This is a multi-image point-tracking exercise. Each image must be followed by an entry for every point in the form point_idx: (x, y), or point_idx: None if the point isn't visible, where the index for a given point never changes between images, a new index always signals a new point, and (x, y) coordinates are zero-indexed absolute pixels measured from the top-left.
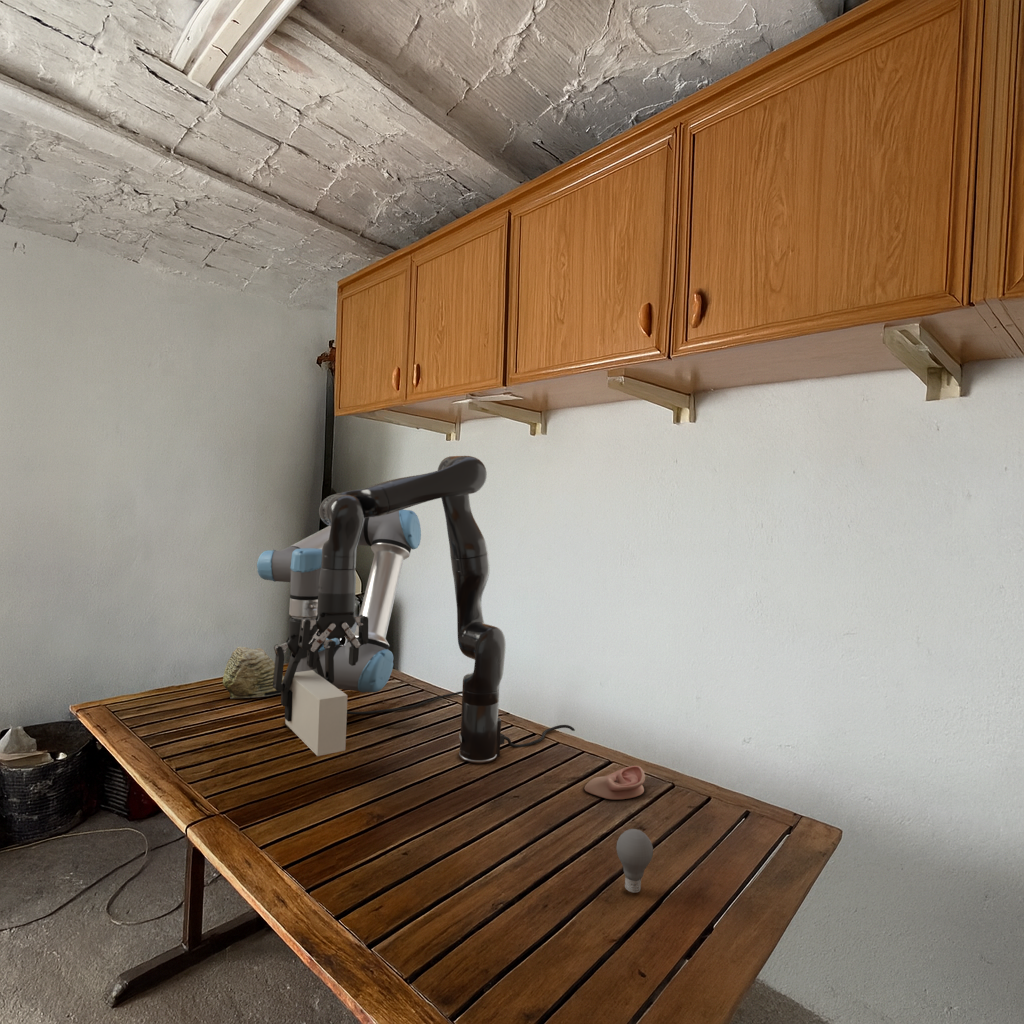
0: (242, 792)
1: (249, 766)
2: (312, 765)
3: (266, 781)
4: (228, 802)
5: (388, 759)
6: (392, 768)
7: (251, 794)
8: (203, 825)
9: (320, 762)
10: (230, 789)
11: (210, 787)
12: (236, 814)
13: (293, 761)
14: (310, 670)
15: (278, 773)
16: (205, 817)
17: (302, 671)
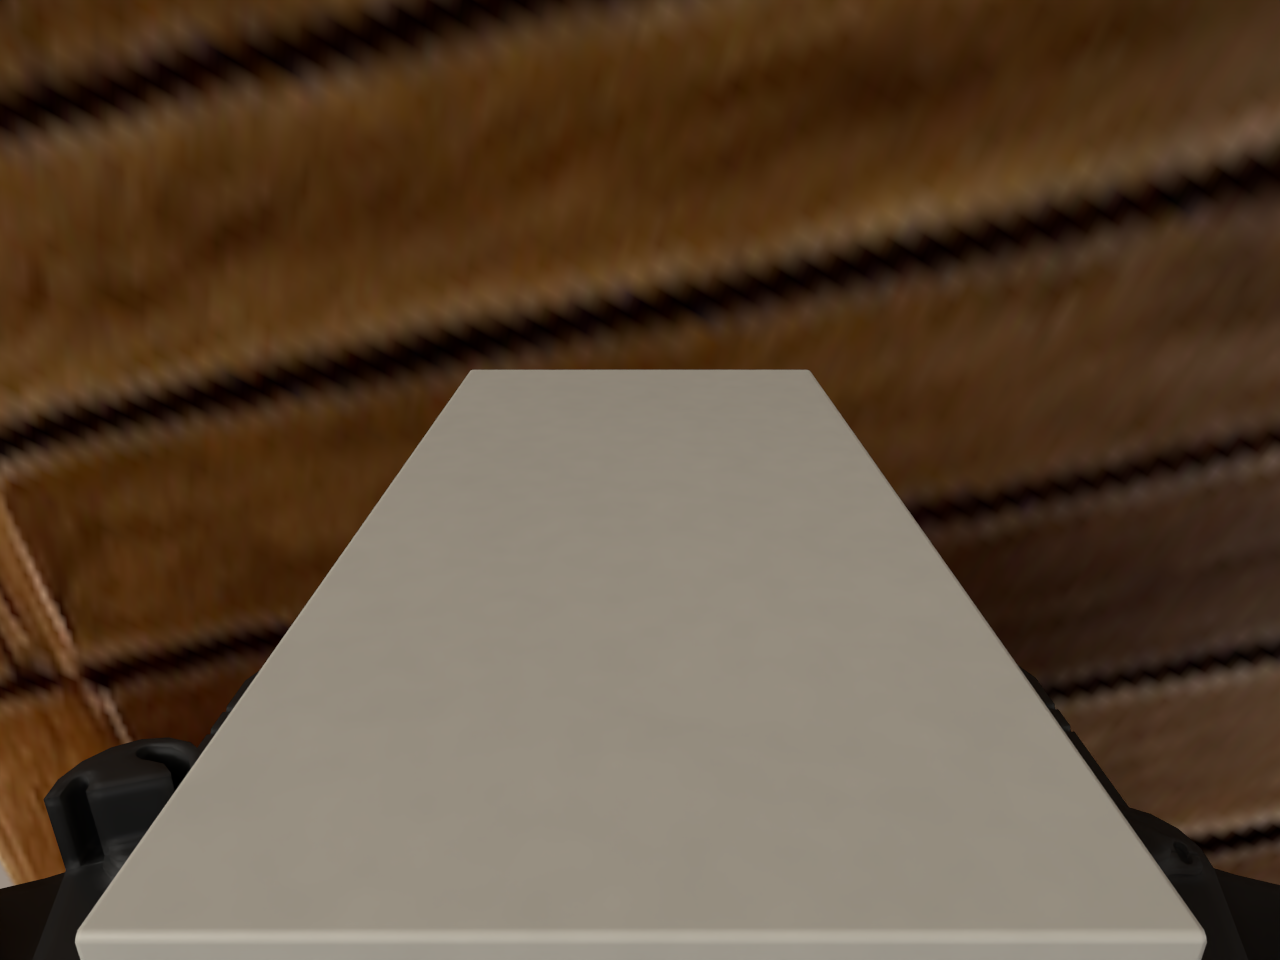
0: (214, 493)
1: (298, 57)
2: (757, 309)
3: (383, 410)
4: (127, 579)
5: (1273, 491)
6: (1192, 631)
7: (266, 546)
8: (3, 753)
9: (832, 285)
10: (139, 412)
11: (3, 311)
12: (168, 726)
13: (653, 148)
14: (1105, 951)
15: (487, 321)
16: (6, 683)
17: (746, 949)
